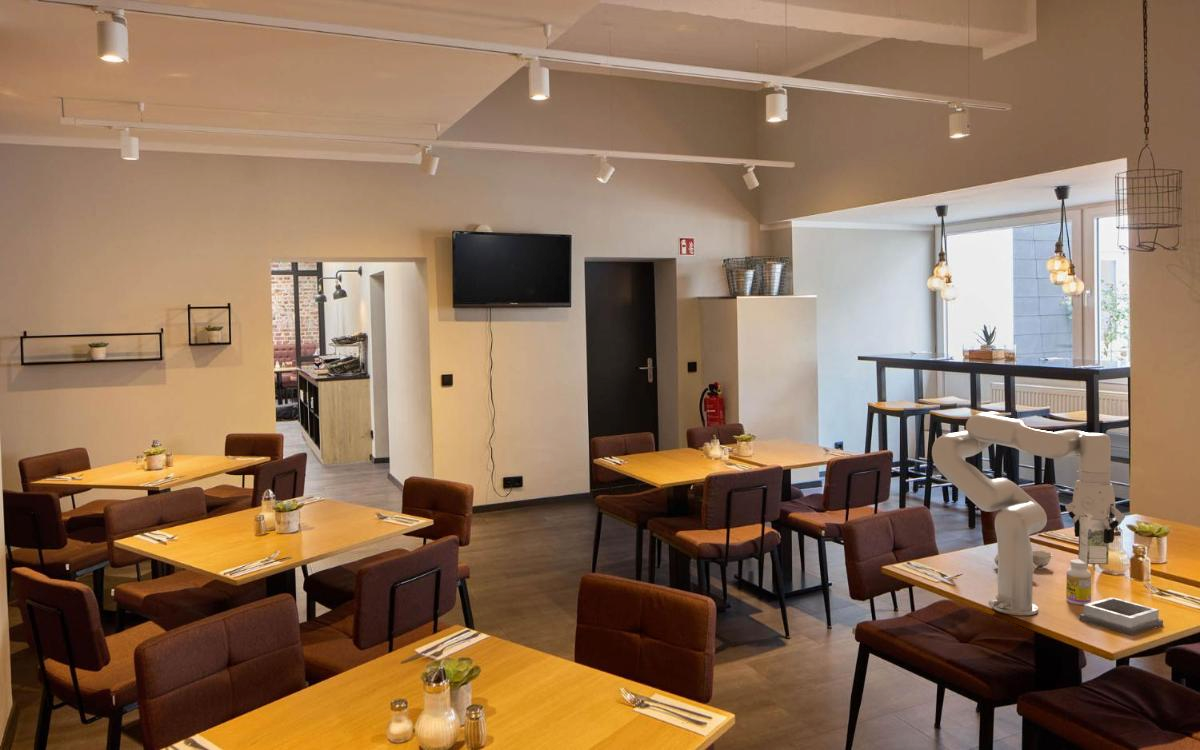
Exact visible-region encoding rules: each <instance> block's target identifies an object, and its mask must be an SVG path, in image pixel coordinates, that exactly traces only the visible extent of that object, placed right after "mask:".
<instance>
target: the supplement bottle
mask: <svg viewBox="0 0 1200 750" xmlns="http://www.w3.org/2000/svg"><path fill="white" fill-rule="evenodd" d="M1069 564H1070V567H1068V568H1067V570H1066V589H1065V590H1066V593H1065V594H1066V595H1065V597H1066V598H1065V599H1066V601H1067V602H1068V603H1070V604H1072V605H1077V606H1078V605H1079V606H1084V605H1085V604H1089V603H1092V572H1091V571H1090V570H1089V569H1088V566H1089V564H1086V563H1085V562H1083V561H1081V560H1080V559H1079V558H1077V559H1071V560H1070V562H1069Z"/></svg>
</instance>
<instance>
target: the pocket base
mask: <svg viewBox="0 0 1200 750" xmlns="http://www.w3.org/2000/svg"><path fill="white" fill-rule="evenodd" d="M1159 610H1160V609H1158V608H1154V607H1150V606H1146V605H1144V604H1139V603H1136V602H1132V601H1128V600H1124V599H1120V598H1117V597H1113V596H1111V597H1107V598H1104V599H1103V598H1102V599H1100V600H1096V601H1093V602H1092V601H1091V602H1090V603H1089V604H1085V605H1083V613H1080V614H1079V621H1082V620H1083V621H1082V622H1085V621H1086V623H1089V624H1093V625H1095V626H1100V627H1102V628H1106V629H1109V630H1112V631H1115V630H1116V632H1119V633H1122V632H1123V634H1125V633H1126V634H1125V635H1130V636H1135V634H1136V635H1138V633H1139V634H1142V633H1144V632H1143V631H1145V632H1148V631H1150V630H1149V629H1151V630H1153V629H1152V628H1154V629H1156V628H1155V627H1157V628H1160V627H1162V625H1163V626H1164V620H1163V619H1160V618H1159V617H1160V616H1159V613H1160V611H1159ZM1159 626H1160V627H1159ZM1147 630H1148V631H1147ZM1141 632H1142V633H1141Z"/></svg>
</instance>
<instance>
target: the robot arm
mask: <svg viewBox="0 0 1200 750" xmlns="http://www.w3.org/2000/svg"><path fill="white" fill-rule="evenodd" d="M1111 441H1112V440H1111V436H1110V435H1108V434H1106V433H1100V432H1085V431H1081V430H1078V429H1064V430H1058V431H1054V432H1053V431H1047V430H1041V429H1037V428H1032V427H1028V426H1027V425H1026V422H1024V421H1023V420H1021V419H1017V418H1010V417H1006V416H1005V415H1004V414H1002V413H1000V412H999V411H987V412H986V411H985V412H979V413H976V414H975V413H974V414H973V415H971V416H970V417H969V418H968V420H967V421H966V423H965V429H964V430H961V431H957V432H949V433H945V434H942V435H941V436H939V437H938V438H936V439H935V440H934V442H933V443H932V448H931V457H932V461H933V463H934V466H935V467H936V470H938V472H939V473H940V474H941V475H942V476H943V477H944V478H946V479H947V480H948V481H949V482H951V483H952V485H954V486H955V487H956V488H957V489H958V490H959V491H960V492H961V493H962V494H963V495H964V496H966V497H967V498H968V499H969V500H970V501H971V502H972V503H973V504H974V505H975V506H977V508H978V509H980V510H981V511H982V512H983V511H984V512H989V513H991V512H996V511H999V510H1000V511H999V512H997V514H996V516H995V519H994V531H995V534H996V541H997V554H998V566H997V594H996V595H995V598H994V599H992V600H989V601H988V602H987V603H988V606H989V607H990V608H993V610H995V611H996V612H1000V613H1003V614H1006V615H1014V616H1032V615H1033V616H1034V615H1036V614H1037V613H1038V612H1039V607H1038V606H1037V605H1036V604H1035V603H1033V590H1034V589H1033V586H1034V585H1033V583H1034V582H1033V579H1034V577H1033V575H1034V573H1033V552H1032V551H1033V547H1032V543H1031V538H1030V535H1032V534H1035V533H1038V532H1040V531H1041V530H1043V529H1044V528H1045V527H1046V526H1047V522H1048V517H1047V512H1046V511H1045V509H1044V508H1043V507H1042V506H1041V504H1040V503H1038V502H1037V501H1036V500H1035V499H1034V498H1033V497H1032V496H1030V495H1029V494H1028V493H1027V492H1026V491H1024V489H1022V488H1021V487H1020V486H1019V485H1017V484H1016V483H1015V482H1014V481H1012V480H1009V479H1007V478H1005V477H996V478H989V477H988V476H986V475H985V474H984V473H982V472H981V471H980V470H979V469H978V468H977V467H976V466H974V465H973V464H971V463H970V462H967V461H966V460H964V458H970V457H974V456H975V455H977V454H979V453H981V452H982V451H984V450H986V449H987V448H988V447H990V446H991V445H993V444H996V445H999V446H1005V447H1009V448H1013V449H1014V448H1015V449H1016V450H1018V451H1021V452H1023V453H1026V454H1030V455H1032V456H1033V455H1034V456H1037V457H1038V456H1039V457H1043V458H1047V459H1055V460H1057V459H1064V458H1068V457H1075V456H1079V459H1078V460H1079V465H1078V466H1079V467H1078V470H1076V471H1075V475H1076V476H1078V480H1076V481H1075V483H1074V489H1073V494H1072V501H1071V502H1070V503H1068V504H1066V505H1065V509H1066V511H1067V513H1068V516H1069V517H1070V518H1071V520H1072V522H1073V523H1074V530H1073V531H1074V537H1076V538H1079V518H1080V516H1081V517H1085V512H1087V513H1091V514H1092V515H1093V518H1094V519H1095V520H1102V521H1103V523H1104V525H1105V526H1106V529H1104V543H1106V544H1107V543H1109V544H1112V543H1114V540H1115V529H1117V528H1118V526H1119V525H1121V523H1122V522H1123V521H1124V520H1125V518H1126V517H1125V514H1123V513H1122V512H1121V511H1120V510H1119V509H1118V508H1116V496H1115V490H1114V486H1113V483H1112V482H1111V454H1112V453H1111V451H1112V450H1111V444H1112V442H1111ZM1109 516H1110V517H1109ZM1114 518H1115V519H1114ZM1108 520H1109V521H1108Z"/></svg>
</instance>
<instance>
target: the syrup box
mask: <svg viewBox="0 0 1200 750" xmlns="http://www.w3.org/2000/svg"><path fill="white" fill-rule="evenodd" d="M1109 517H1110V516H1109ZM1108 521H1109V520H1108ZM1104 529H1106V526H1105V525H1104V523H1103V521H1102V520H1095V519H1094V518H1093V515H1092V514H1091V513H1087V512H1085V517H1081V516H1080V518H1079V537H1078V558H1077V559H1078V560H1081V561H1083V562H1085V563H1086V564H1088V565H1108V564H1109V550H1110V549H1109V545H1110V543H1107V544H1106V543H1104Z"/></svg>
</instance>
